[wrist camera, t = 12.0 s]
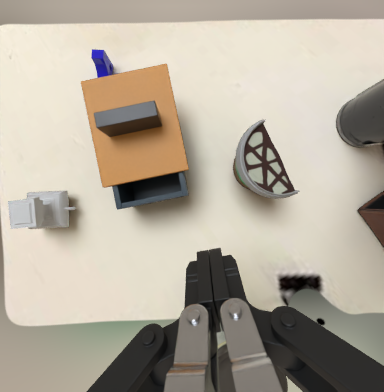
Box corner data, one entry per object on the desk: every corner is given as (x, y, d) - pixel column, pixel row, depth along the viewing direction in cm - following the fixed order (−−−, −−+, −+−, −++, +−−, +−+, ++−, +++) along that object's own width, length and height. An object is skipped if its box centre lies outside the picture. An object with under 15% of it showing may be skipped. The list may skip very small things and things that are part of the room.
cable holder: (118, 107, 38) (109, 97, 34) (99, 106, 38) (89, 95, 34) (120, 66, 38) (112, 50, 34) (102, 64, 38) (92, 49, 34)
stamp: (81, 190, 38) (49, 188, 30) (83, 224, 38) (52, 232, 30) (34, 192, 38) (-11, 191, 30) (36, 227, 38) (-9, 236, 30)
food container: (216, 150, 38) (224, 134, 28) (245, 137, 38) (263, 115, 28) (243, 208, 38) (261, 213, 28) (272, 195, 38) (301, 194, 28)
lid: (83, 84, 30) (62, 63, 25) (167, 66, 30) (162, 42, 25) (104, 187, 30) (88, 186, 25) (188, 170, 30) (188, 165, 25)
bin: (118, 135, 38) (98, 119, 30) (174, 123, 38) (169, 104, 30) (132, 206, 38) (116, 209, 30) (188, 195, 38) (188, 195, 30)
